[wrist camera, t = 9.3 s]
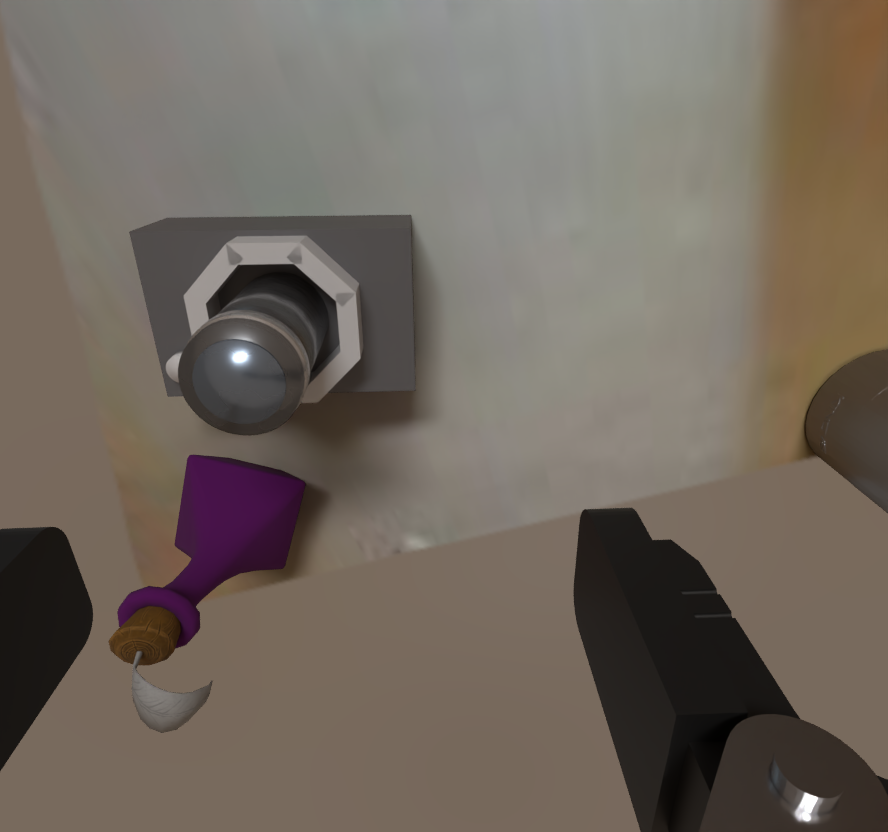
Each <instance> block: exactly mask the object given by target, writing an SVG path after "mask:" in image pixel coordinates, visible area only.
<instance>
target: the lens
mask: <svg viewBox="0 0 888 832" xmlns="http://www.w3.org/2000/svg"><path fill="white" fill-rule="evenodd" d="M327 329H328V311H327V308H326V304H325V302H324V300H323V298H322V297H321V295H320V294H319V292H318V291H317V290H316V289H315V288H314V287H313V286H312V285H311V284H310V283H309V282H307V281H306V280H304V279H302V278H300V277H298V276H296V275H293V274H289V273H283V272H274V273H268V274H264V275H261V276H259V277H257V278H256V279H254V280H253V281H251V282H250V283H249V284H248V285H247V286H246V287H245V288H244V289H243V290H242V291H241V292H240V293H239V294H238V295H237V296H236V297H235V298H234V299H233V300H232V301H231V302H230V303H228V304H227V305H226V306H225V307H224V308H223V309H222V310H221V311H220V312H219V313H218V314H217V315H216V316H214V317H213V318H211V319H209V320H208V321H207V322H205V323H204V324H203V325H202V326H201V327H200V328H199V329H198V330H197V331H196V332H195V333H194V334H193V335H192V337H191V338H190V340H189V341H188V343H187V345H186V347H185V349H184V350H183V352H182V354H181V357H180V361H179V365H178V380H179V385H180V389H181V392H182V394H183V396H184V398H185V400H186V402H187V403H188V405H189V406H190V407H191V409H192V410H193V411H194V412H195V413H196V414H197V415H198V416H199V417H200V418H201V419H203V420H204V421H205V422H207V423H208V424H210V425H211V426H213V427H215V428H217V429H219V430H222V431H225V432H228V433H232V434H238V435H258V434H262V433H266V432H269V431H272V430H274V429H276V428H278V427H279V426H281V425H282V424H284V423H285V422H286V421H287V420H288V419H289V418H290V417H291V415H292V414H293V413H294V411H295V410H296V409H297V408H298V406H299V405H300V403H301V401H302V400H303V397H304V395H305V392H306V389H307V387H308V383H309V378H310V373H311V370H312V368H313V365H314V363H315V360H316V358H317V355H318V353H319V350H320V348H321V345H322V343H323V340H324V338H325V335H326V333H327Z"/></svg>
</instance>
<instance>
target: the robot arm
mask: <svg viewBox="0 0 888 832" xmlns="http://www.w3.org/2000/svg"><path fill="white" fill-rule="evenodd" d="M806 436H807V439H808V442H809V445H810V447H811V448H812V450H813V451H814V453H815V454H816V455H817V456H818V457H820V458H821V459H822V460H823V461H825V462H826V463H827V464H828V465H830V466H831V467H832V468H833V469H834V470H836V471H837V472H838V473H839V474H841V475H842V476H843V477H844V478H846V479H847V480H848V481H849V482H850V483H851V484H853V485H854V486H855V487H856V488H857V489H858V490H860V491H861V492H862V493H863V494H865V495H866V496H867V497H868V498H870V499H871V500H872V501H873V502H875V503H876V504H877V505H878V506H879V507H881V508H882V509H883V510H884V511H886V512H887V513H888V349H886V350H881V351H876V352H872V353H869V354H867V355H864V356H862V357H859V358H857V359H855V360H853V361H852V362H850V363H848V364H847V365H845V366H843V367H842V368H841V369H840V370H838V371H837V372H836V373H835V374H833V375H832V376H831V377H830V378H829V379H828V380H827V382H826V383H825V384H824V385H823V386H822V387H821V388H820V390H819V392H818V393H817V395H816V396H815V398H814V399H813V401H812V404H811V406H810V409H809V411H808V415H807V420H806ZM574 606H575V615H576V620H577V625H578V628H579V632H580V635H581V639H582V642H583V645H584V648H585V652H586V655H587V658H588V661H589V665H590V668H591V671H592V674H593V678H594V681H595V684H596V687H597V691H598V694H599V697H600V700H601V704H602V707H603V710H604V713H605V717H606V720H607V723H608V726H609V730H610V733H611V736H612V739H613V742H614V745H615V749H616V752H617V756H618V759H619V762H620V765H621V768H622V772H623V775H624V778H625V782H626V785H627V788H628V791H629V795H630V798H631V801H632V804H633V808H634V811H635V814H636V817H637V821H638V823H639V827H640V830H641V832H888V780H887V779H884V778H882V777H879V776H877V775H876V774H875V773H874V772H873V771H872V769H871V768H870V767H869V766H868V765H867V763H866V762H865V761H864V760H863V759H862V758H861V757H860V756H859V755H858V754H857V753H856V752H855V751H854V750H853V749H851V748H850V747H849V746H848V745H846V744H845V743H844V742H842V741H841V740H840V739H838V738H837V737H835V736H834V735H832V734H830V733H829V732H827V731H825V730H823V729H821V728H820V727H818V726H816V725H814V724H811V723H809V722H806V721H804V720H801V719H800V718H799V716H798V715H797V714H796V712H795V711H794V709H793V708H792V706H791V705H790V703H789V702H788V700H787V698H786V697H785V695H784V694H783V692H782V690H781V689H780V687H779V686H778V684H777V683H776V681H775V679H774V678H773V676H772V675H771V673H770V672H769V670H768V669H767V667H766V665H765V664H764V662H763V661H762V659H761V658H760V656H759V654H758V653H757V651H756V650H755V648H754V647H753V645H752V644H751V642H750V640H749V639H748V637H747V636H746V634H745V633H744V631H743V630H742V628H741V627H740V625H739V623H738V622H737V620H736V619H735V618H732V616H731V611H730V609H729V608H728V606H727V605H726V603H725V601H724V600H723V598H722V597H721V595H720V594H717V591H716V587H715V586H714V584H713V583H712V581H711V579H710V578H709V576H708V575H707V573H706V572H705V570H704V568H703V567H702V565H701V564H700V562H699V561H698V560H696V559H695V558H694V557H692V556H691V555H690V554H689V553H687V552H686V551H685V550H684V549H682V548H681V547H680V546H678V545H677V544H676V543H675V542H673V541H672V540H652V539H651V537H650V535H649V533H648V532H647V530H646V528H645V526H644V525H643V523H642V521H641V519H640V517H639V515H638V514H637V512H636V511H635V510H634V509H633V508H613V509H584V510H583V511H582V514H581V517H580V524H579V535H578V546H577V557H576V568H575V578H574ZM92 621H93V609H92V603H91V600H90V598H89V595H88V592H87V589H86V587H85V584H84V581H83V579H82V576H81V573H80V571H79V569H78V565H77V563H76V560H75V557H74V554H73V552H72V549H71V546H70V544H69V541H68V539H67V537H66V535H65V534H64V532H63V531H62V530H60V529H59V528H56V527H40V528H12V529H1V530H0V771H1V769H2V768H3V766H4V765H5V763H6V762H7V760H8V759H9V757H10V756H11V754H12V753H13V751H14V750H15V748H16V747H17V745H18V744H19V742H20V741H21V739H22V738H23V736H24V735H25V734H26V732H27V730H28V729H29V728H30V726H31V725H32V723H33V722H34V720H35V718H36V717H37V716H38V714H39V713H40V711H41V710H42V708H43V707H44V705H45V704H46V702H47V701H48V699H49V698H50V696H51V695H52V693H53V692H54V690H55V689H56V687H57V686H58V684H59V682H60V681H61V680H62V678H63V677H64V675H65V674H66V672H67V671H68V669H69V668H70V666H71V665H72V663H73V662H74V660H75V659H76V657H77V656H78V654H79V653H80V651H81V650H82V649H83V647H84V645H85V644H86V641H87V639H88V637H89V634H90V631H91V627H92Z"/></svg>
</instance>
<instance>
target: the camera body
mask: <svg viewBox="0 0 888 832" xmlns="http://www.w3.org/2000/svg"><path fill="white" fill-rule="evenodd" d="M129 233H130V237H131V241H132V246H133V250H134V254H135V258H136V263H137V267H138V271H139V275H140V280H141V284H142V288H143V293H144V297H145V301H146V305H147V310H148V314H149V318H150V323H151V327H152V331H153V335H154V340H155V344H156V348H157V353H158V357H159V361H160V365H161V370H162V374H163V378H164V382H165V387H166V391H167V395H168V397H170V396H183V394H182V392H181V389H180V385H179V380H178V365H179V361H180V357H181V354H182V352H183V350H184V349H185V347H186V345H187V343H188V341H189V340H190V338H191V337H192V335H193V334H194V333H195V332H196V331H197V330H198V329H199V328H200V327H201V326H202V325H203V324H204V323H205V322H207V321H208V320H209V319H211V318H213V317H214V316H216V315H217V314H218V313H219V312H220V311H221V310H222V309H223V308H224V307H225V306H226V305H227V304H228V303H230V302H231V301H232V300H233V299H234V298H235V297H236V296H237V295H238V294H239V293H240V292H241V291H242V290H243V289H244V288H245V287H246V286H247V285H248V284H249V283H250V282H251V281H253V280H254V279H256V278H257V277H259V276H261V275H264V274H268V273H274V272H283V273H289V274H293V275H296V276H298V277H300V278H302V279H304V280H306V281H307V282H309V283H310V284H311V285H312V286H313V287H314V288H315V289H316V290H317V291H318V292H319V294H320V295H321V297H322V298H323V300H324V302H325V304H326V308H327V311H328V329H327V333H326V335H325V338H324V340H323V343H322V345H321V348H320V350H319V353H318V355H317V358H316V360H315V363H314V365H313V368H312V370H311V373H310V378H309V383H308V387H307V389H306V392H305V395H304V397H303V400H302V401H301V403H318V402H319V401H320V400H321V399H322V398H323V397H324V396H325V395H326V394H327V393H335V392H377V391H415V337H414V303H413V268H412V234H411V215H369V216H287V217H204V218H166V219H163V220H160V221H157V222H155V223H152V224H149V225H146V226H144V227H141V228H138V229H135V230H133V231H130V232H129Z"/></svg>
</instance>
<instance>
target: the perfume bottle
mask: <svg viewBox="0 0 888 832" xmlns="http://www.w3.org/2000/svg"><path fill="white" fill-rule="evenodd" d="M304 489H305V482H304V481H302V480H301V479H299V478H296V477H294V476H292V475H290V474H288V473H286V472H284V471H282V470H278V469H274V468H269V467H265V466H261V465H257V464H253V463H248V462H244V461H240V460H236V459H231V458H224V457H213V456H202V455H190V456H189V457H188V459H187V465H186V472H185V479H184V485H183V492H182V499H181V505H180V512H179V519H178V525H177V532H176V539H175V546H176V547H177V548H178V549H180V550H181V551H182V552H184V553H185V554H187V555H188V556H189V557H191V558H192V559H191V561H190V563H189V564H188V566H187V567H186V568H185V569H184V570H183V571H182V572H181V573H180V574H179V575H178V576H177V577H176V578H175V579H174V581H172V582H171V583H169V584H168V585H166V586H165V587H163V588H161V587H152V586H148V587H145V588H142V589H139V590H136V591H133V592H131V593H130V594H129V595H128V596H127V597H126V599H125V600H124V601H123V603H122V604H121V605H120V607H119V609H118V620H119V627H120V628H119V629H118V630H117V631H116V632H115V633H114V634H113V636H112V637H111V638H110V640H109V645H110V649H111V651H112V652H113V653H114V654H115V655H116V656H118V657H119V658H120V659H121V660H123V661H124V662H127V663H131V664H133V675H132V695H133V701H134V703H135V707H136V709H137V712H138V714H139V717H140V719H141V720H142V721H143V722H144V723H145V724H146V725H147V726H148V727H149V728H151V729H153V730H156V731H158V732H161V733H164V732H168V731H172V730H176V729H178V728H179V727H181V726H182V725H183V724H184V723H186V722H187V721H188V720H189V719H190V718H191V717H192V716H193V715H194V714H195V713H196V712H197V711H198V710H199V709H200V708H201V707H202V706H203V704H204V703H205V702H206V700H207V699H208V696H209V694H210V690H211V686H212V681H211V682H210V684H209V685H207V686H205V687H203V688H200V689H198V690H196V691H193V692H189V693H174V692H168V691H165V690H163V689H160V688H157V687H155V686H154V685H152V684H150V683H149V682H147V681H145V679H144V678H143V677H142V676H141V675H140V674H139V673H138V672H137V670H136V668H137V666H138V665H152V664H155V663H158V662H161V661H163V660H166V659H168V658H169V656H170V655H171V654H172V653H173V652H174V650H175V648H178V647H181V646H184V645H186V644H187V643H188V642H189V641H190V640H191V639H192V638H193V636H194V635H195V634H196V633H197V632H198V631H199V629H200V612H199V611H198V610H197V608H196V606H197V604H198V603H199V602H200V601H201V600H202V599H203V598H204V597H205V596H206V595H208V594H209V593H210V592H211V591H212V590H213V589H215V588H216V587H217V586H218V585H220V584H221V583H223V582H224V581H225V580H227V579H229V578H231V577H233V576H236V575H238V574H240V573H244V572H250V571H256V570H272V569H283V568H284V566H285V564H286V560H287V556H288V552H289V548H290V544H291V540H292V536H293V532H294V528H295V524H296V521H297V517H298V513H299V509H300V505H301V501H302V497H303V493H304Z"/></svg>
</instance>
